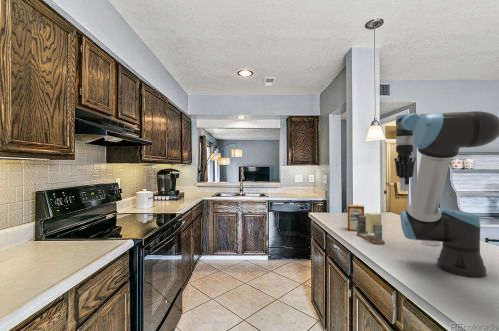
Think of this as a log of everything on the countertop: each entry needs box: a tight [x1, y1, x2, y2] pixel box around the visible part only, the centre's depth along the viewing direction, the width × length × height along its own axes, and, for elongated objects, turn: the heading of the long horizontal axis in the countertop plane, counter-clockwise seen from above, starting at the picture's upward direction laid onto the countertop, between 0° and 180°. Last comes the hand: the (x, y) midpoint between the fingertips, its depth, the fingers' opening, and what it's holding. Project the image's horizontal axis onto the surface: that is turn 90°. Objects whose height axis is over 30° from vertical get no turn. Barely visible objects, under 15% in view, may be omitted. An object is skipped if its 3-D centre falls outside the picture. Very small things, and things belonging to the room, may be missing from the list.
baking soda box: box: [347, 204, 365, 233], centre depth 165 cm, size 10×6×16 cm
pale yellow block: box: [365, 212, 382, 234], centre depth 141 cm, size 5×6×10 cm
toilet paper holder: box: [356, 215, 386, 245], centre depth 145 cm, size 18×6×12 cm, turn 5°
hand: (404, 190), depth 133 cm, fingers closed
